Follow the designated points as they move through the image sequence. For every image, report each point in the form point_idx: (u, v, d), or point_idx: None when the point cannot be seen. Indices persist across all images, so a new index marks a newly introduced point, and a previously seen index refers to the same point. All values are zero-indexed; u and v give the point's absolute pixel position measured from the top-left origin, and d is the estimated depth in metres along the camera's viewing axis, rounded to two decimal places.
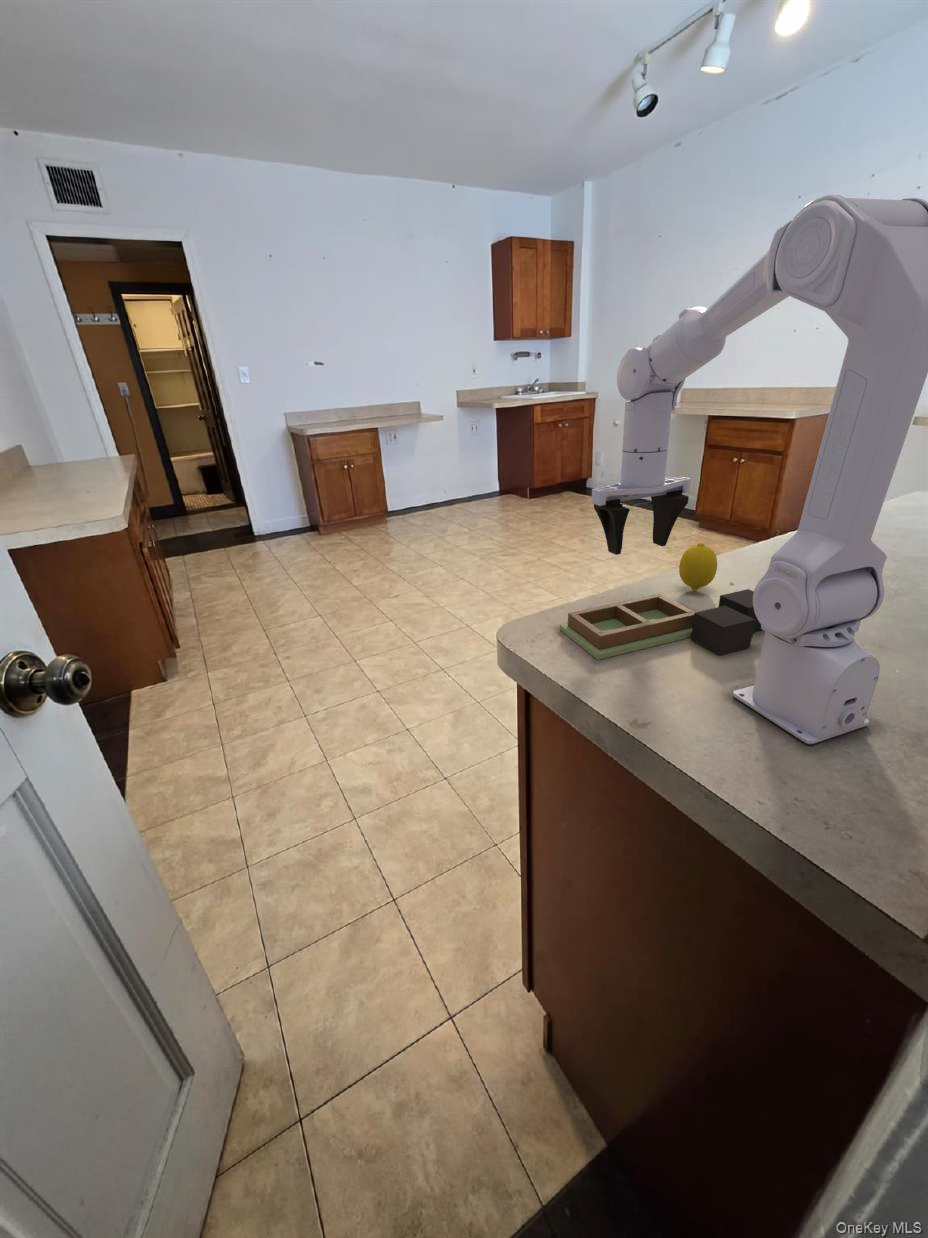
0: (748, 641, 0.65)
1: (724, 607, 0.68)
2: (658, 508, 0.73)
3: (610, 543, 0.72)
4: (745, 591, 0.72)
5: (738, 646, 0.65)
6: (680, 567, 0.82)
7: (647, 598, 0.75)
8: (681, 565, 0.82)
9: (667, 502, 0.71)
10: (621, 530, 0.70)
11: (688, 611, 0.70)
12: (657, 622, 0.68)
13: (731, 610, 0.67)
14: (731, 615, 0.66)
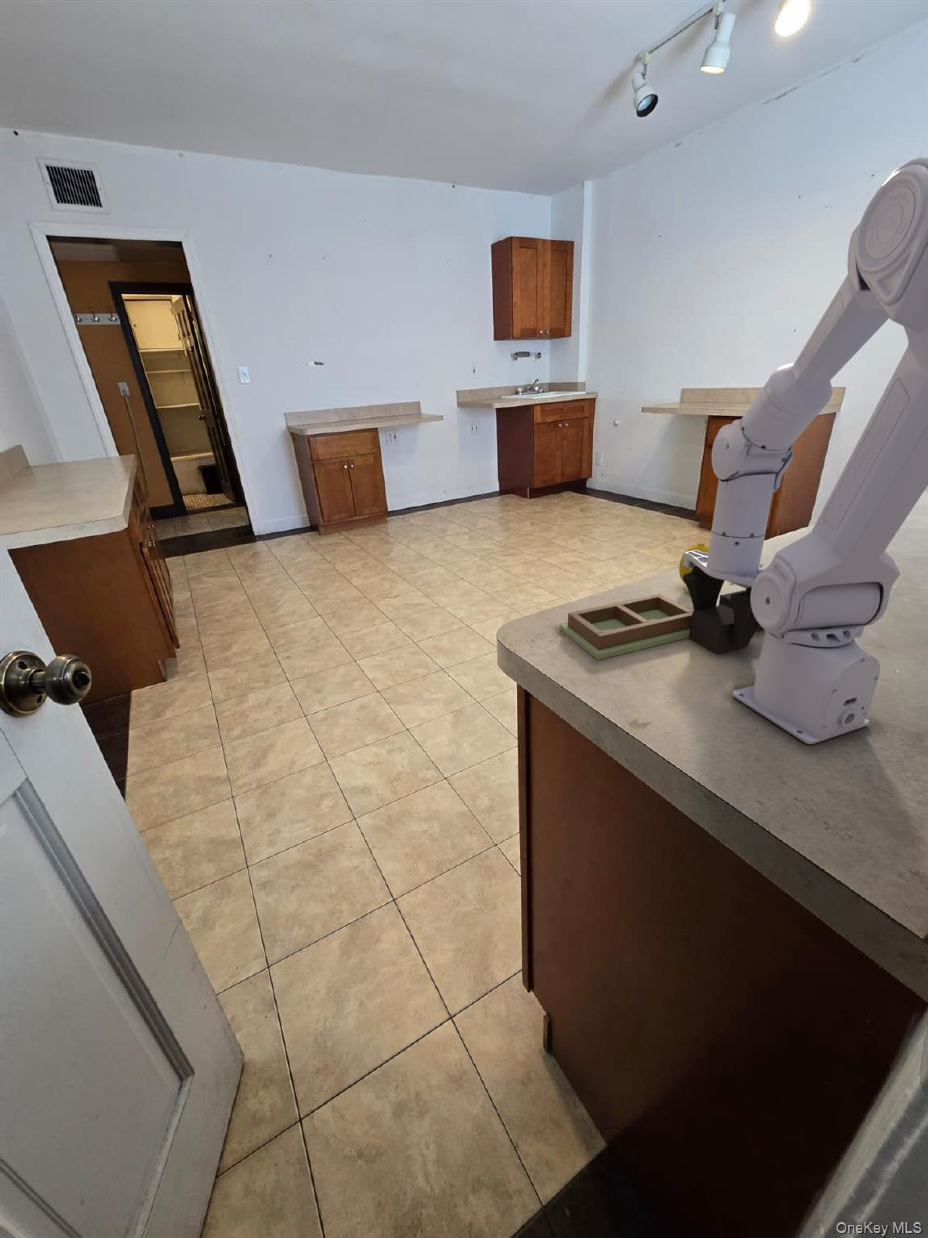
0: None
1: (722, 606, 0.68)
2: None
3: None
4: (745, 591, 0.72)
5: None
6: (680, 567, 0.82)
7: (647, 598, 0.75)
8: (681, 565, 0.82)
9: None
10: (695, 601, 0.68)
11: (688, 611, 0.70)
12: (657, 622, 0.68)
13: (729, 609, 0.67)
14: (729, 614, 0.66)
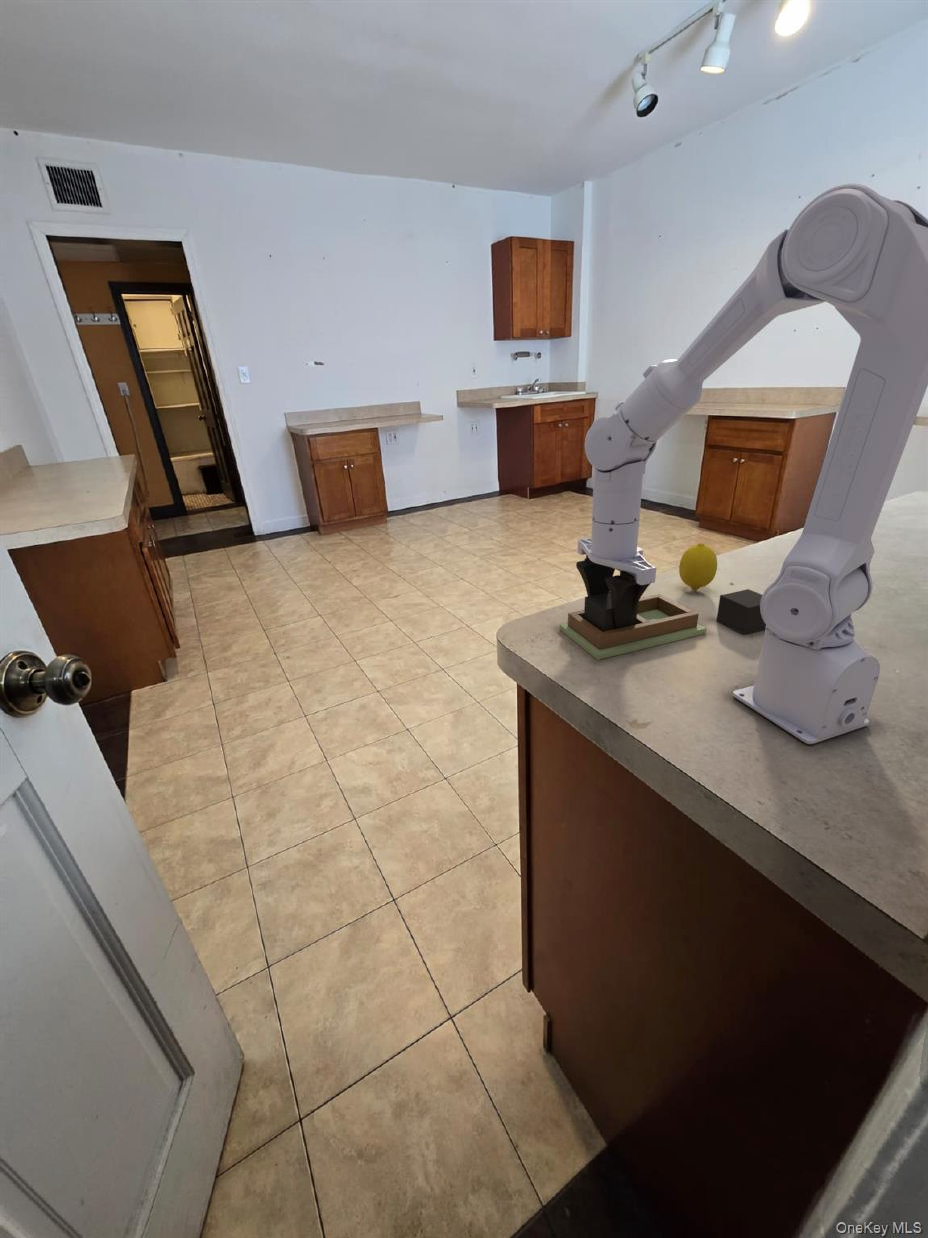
0: (633, 624, 0.68)
1: None
2: None
3: None
4: (745, 591, 0.72)
5: None
6: (680, 567, 0.82)
7: (647, 598, 0.75)
8: (681, 565, 0.82)
9: None
10: (587, 587, 0.70)
11: (688, 611, 0.70)
12: (657, 622, 0.68)
13: None
14: None
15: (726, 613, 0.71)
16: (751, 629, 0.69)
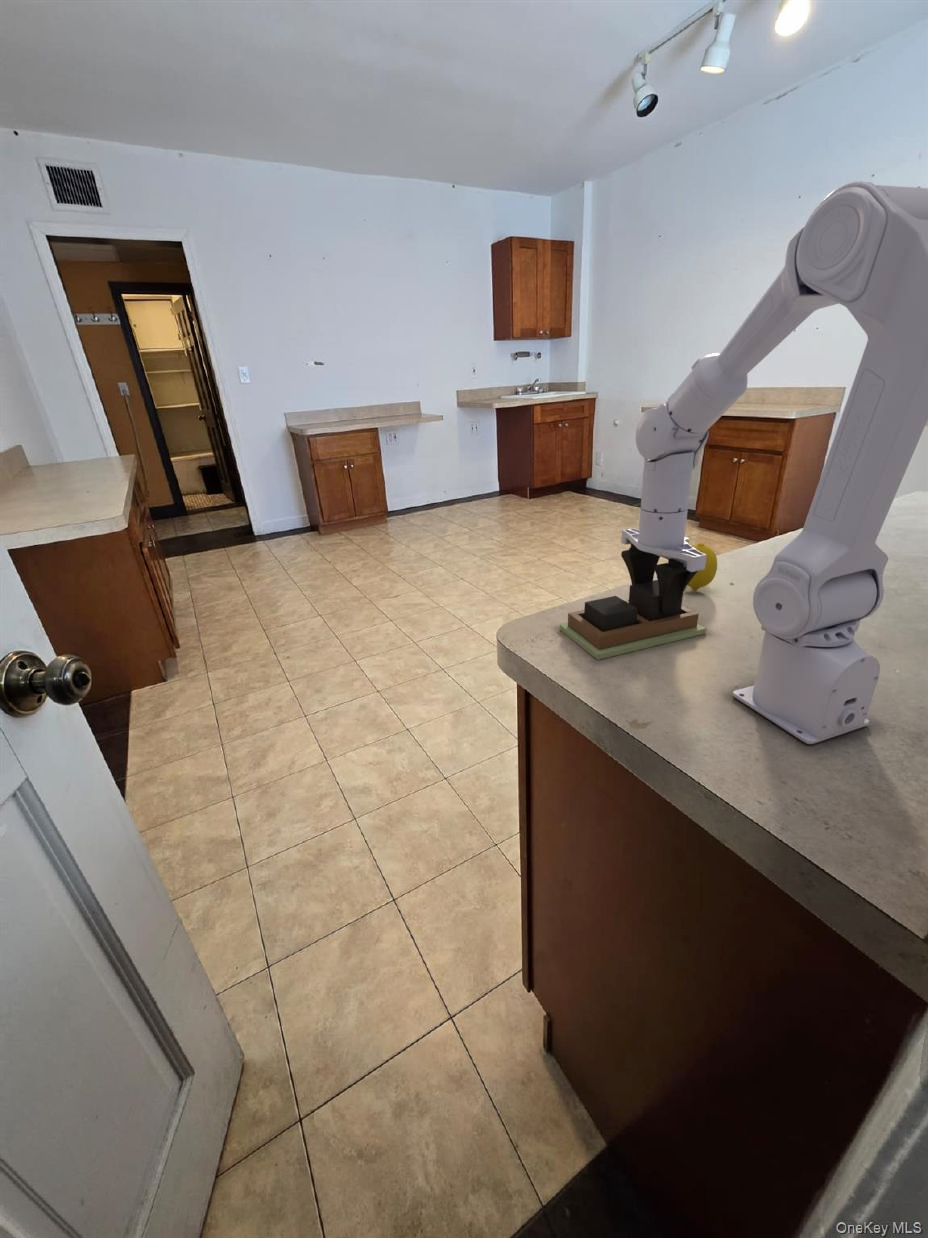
0: None
1: (614, 597, 0.71)
2: None
3: None
4: (655, 581, 0.73)
5: None
6: None
7: None
8: None
9: None
10: (632, 575, 0.72)
11: (688, 611, 0.70)
12: (657, 622, 0.68)
13: (619, 600, 0.70)
14: (617, 604, 0.69)
15: (635, 603, 0.71)
16: (657, 618, 0.69)
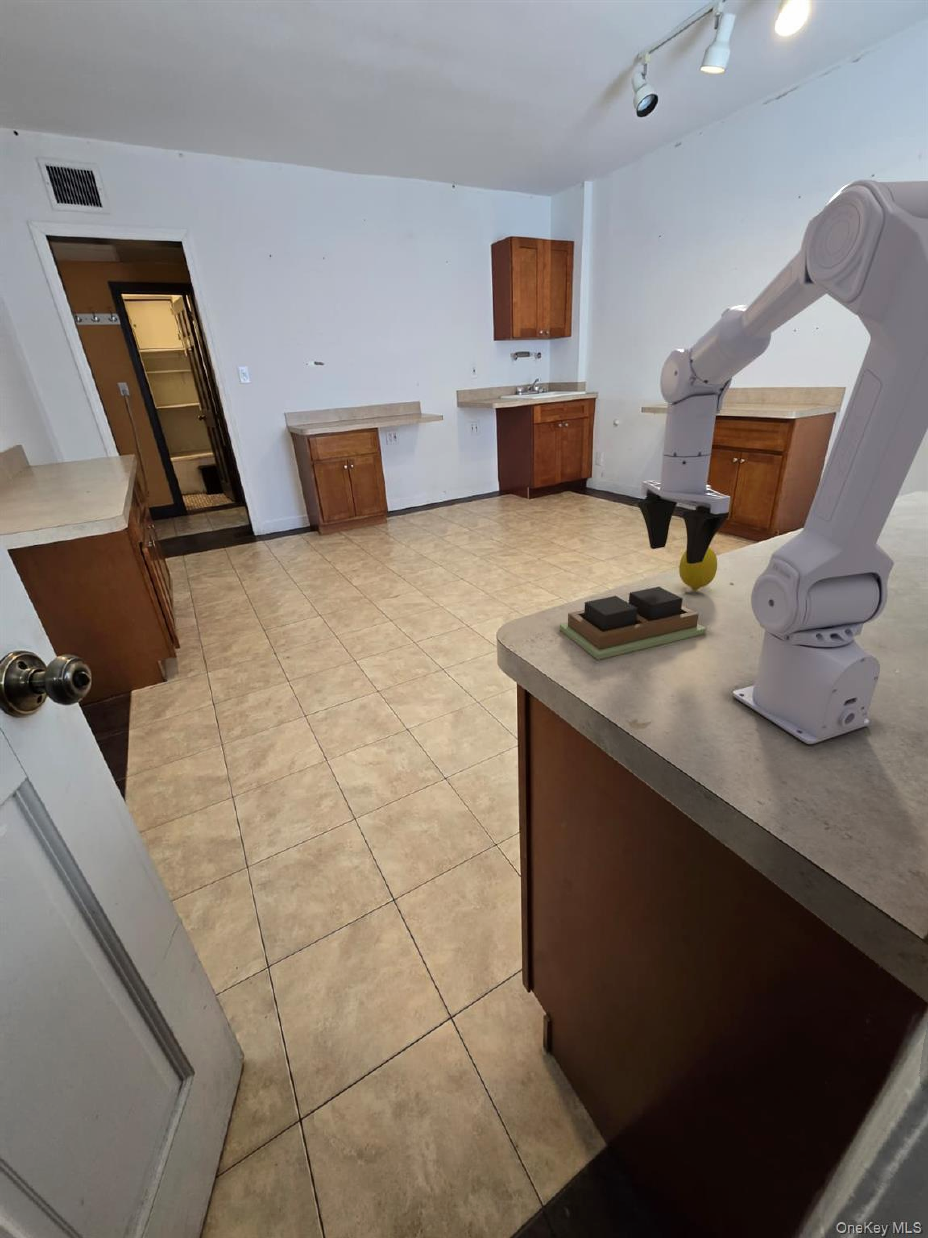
0: None
1: (614, 597, 0.71)
2: None
3: None
4: (655, 588, 0.73)
5: None
6: (680, 567, 0.82)
7: None
8: (681, 565, 0.82)
9: None
10: (648, 524, 0.73)
11: (688, 611, 0.70)
12: (657, 622, 0.68)
13: (619, 600, 0.70)
14: (617, 604, 0.69)
15: None
16: None
